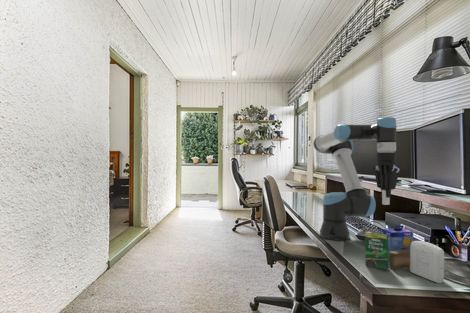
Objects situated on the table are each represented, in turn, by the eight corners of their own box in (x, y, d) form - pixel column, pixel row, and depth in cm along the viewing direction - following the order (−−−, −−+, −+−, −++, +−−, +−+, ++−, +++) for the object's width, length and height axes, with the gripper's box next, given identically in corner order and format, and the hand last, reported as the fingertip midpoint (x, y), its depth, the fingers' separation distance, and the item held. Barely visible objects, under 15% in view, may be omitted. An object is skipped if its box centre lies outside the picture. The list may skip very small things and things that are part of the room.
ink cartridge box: (391, 262, 105) (391, 226, 105) (381, 256, 110) (381, 223, 110) (412, 260, 106) (412, 225, 106) (402, 255, 112) (402, 222, 112)
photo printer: (446, 282, 88) (446, 246, 88) (439, 284, 86) (439, 248, 86) (415, 270, 98) (415, 237, 98) (407, 272, 96) (408, 239, 96)
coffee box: (364, 265, 102) (364, 232, 102) (366, 263, 104) (366, 230, 104) (387, 271, 97) (387, 236, 97) (389, 268, 99) (389, 234, 99)
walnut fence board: (389, 267, 100) (389, 251, 100) (426, 260, 106) (426, 246, 106) (394, 269, 98) (394, 254, 98) (432, 263, 104) (432, 248, 104)
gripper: (368, 152, 121) (367, 202, 121) (392, 151, 108) (391, 207, 109) (381, 152, 123) (380, 201, 123) (406, 152, 110) (405, 206, 111)
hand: (385, 204), depth 116 cm, fingers closed
